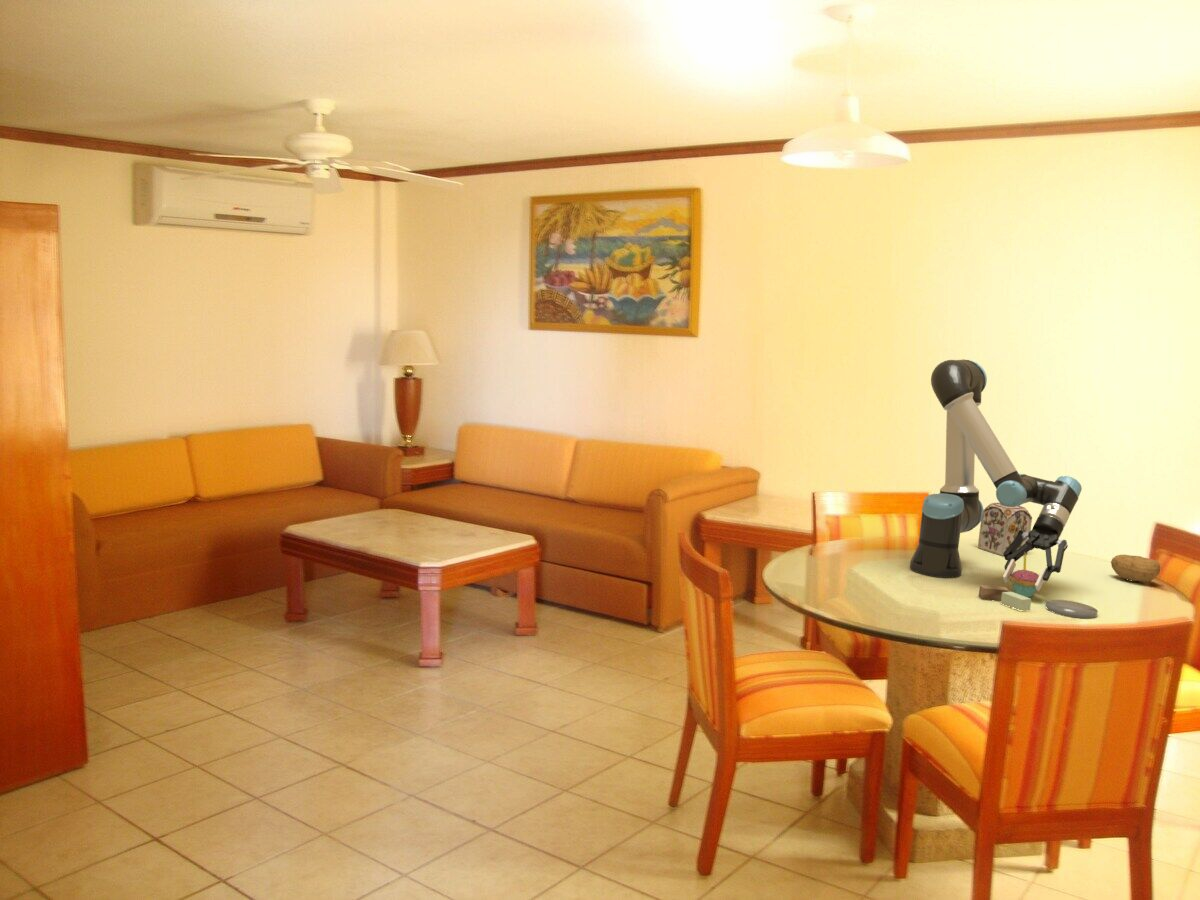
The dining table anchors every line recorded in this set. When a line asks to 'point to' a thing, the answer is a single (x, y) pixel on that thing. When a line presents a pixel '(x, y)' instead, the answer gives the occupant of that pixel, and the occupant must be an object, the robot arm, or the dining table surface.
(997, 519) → the decorative jar
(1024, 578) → the cupcake
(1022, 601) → the sage brick
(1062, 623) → the dining table surface
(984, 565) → the dining table surface
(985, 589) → the walnut brick
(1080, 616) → the plate
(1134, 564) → the potato
